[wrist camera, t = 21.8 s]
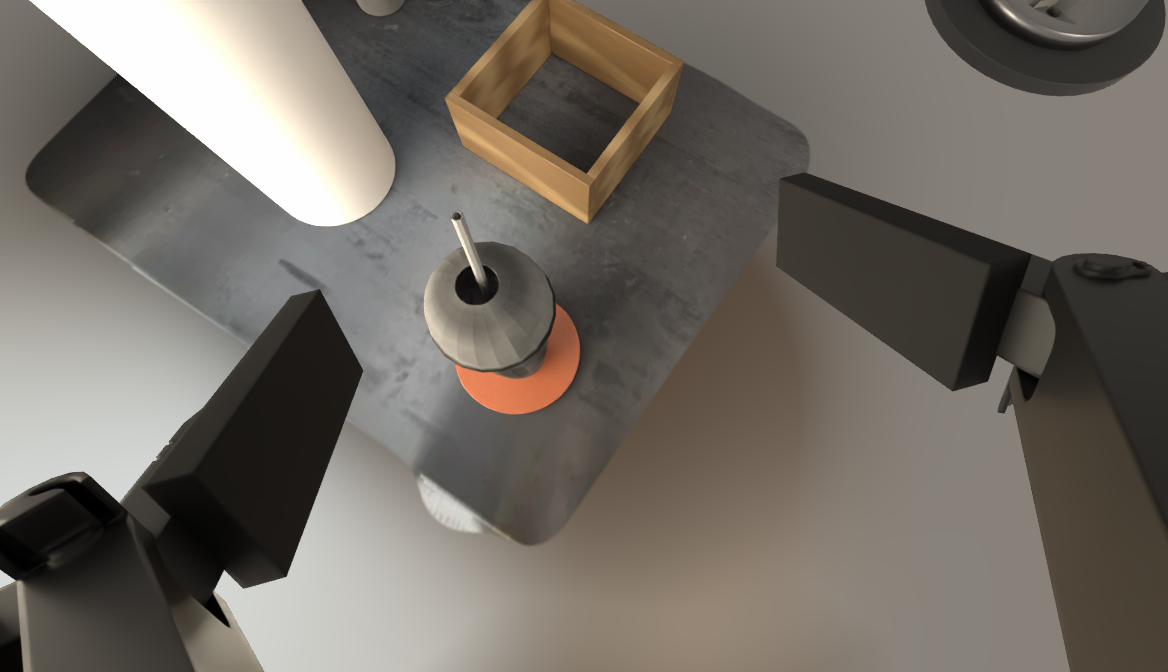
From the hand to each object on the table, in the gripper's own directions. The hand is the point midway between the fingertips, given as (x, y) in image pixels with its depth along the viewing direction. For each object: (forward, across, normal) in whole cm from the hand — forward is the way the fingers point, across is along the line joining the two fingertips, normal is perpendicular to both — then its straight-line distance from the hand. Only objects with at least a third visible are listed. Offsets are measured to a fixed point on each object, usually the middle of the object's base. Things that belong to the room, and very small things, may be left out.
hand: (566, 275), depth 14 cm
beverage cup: (+20, -4, -14) cm, 25 cm away
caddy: (+34, +5, -1) cm, 34 cm away
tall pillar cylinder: (+34, -16, -1) cm, 38 cm away
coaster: (+20, -4, -15) cm, 25 cm away
